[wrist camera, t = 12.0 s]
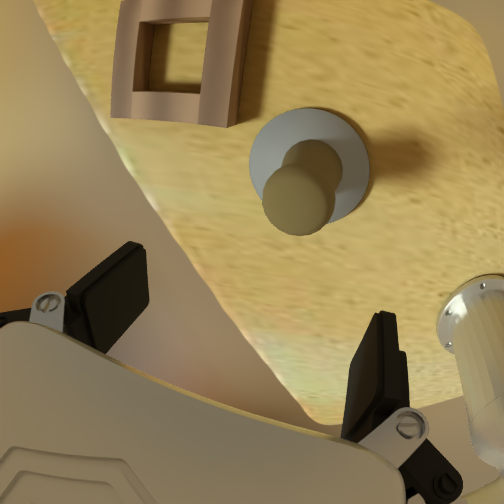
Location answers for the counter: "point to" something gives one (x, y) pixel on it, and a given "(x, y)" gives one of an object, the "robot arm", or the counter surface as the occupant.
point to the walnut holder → (214, 68)
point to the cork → (303, 188)
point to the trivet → (315, 128)
